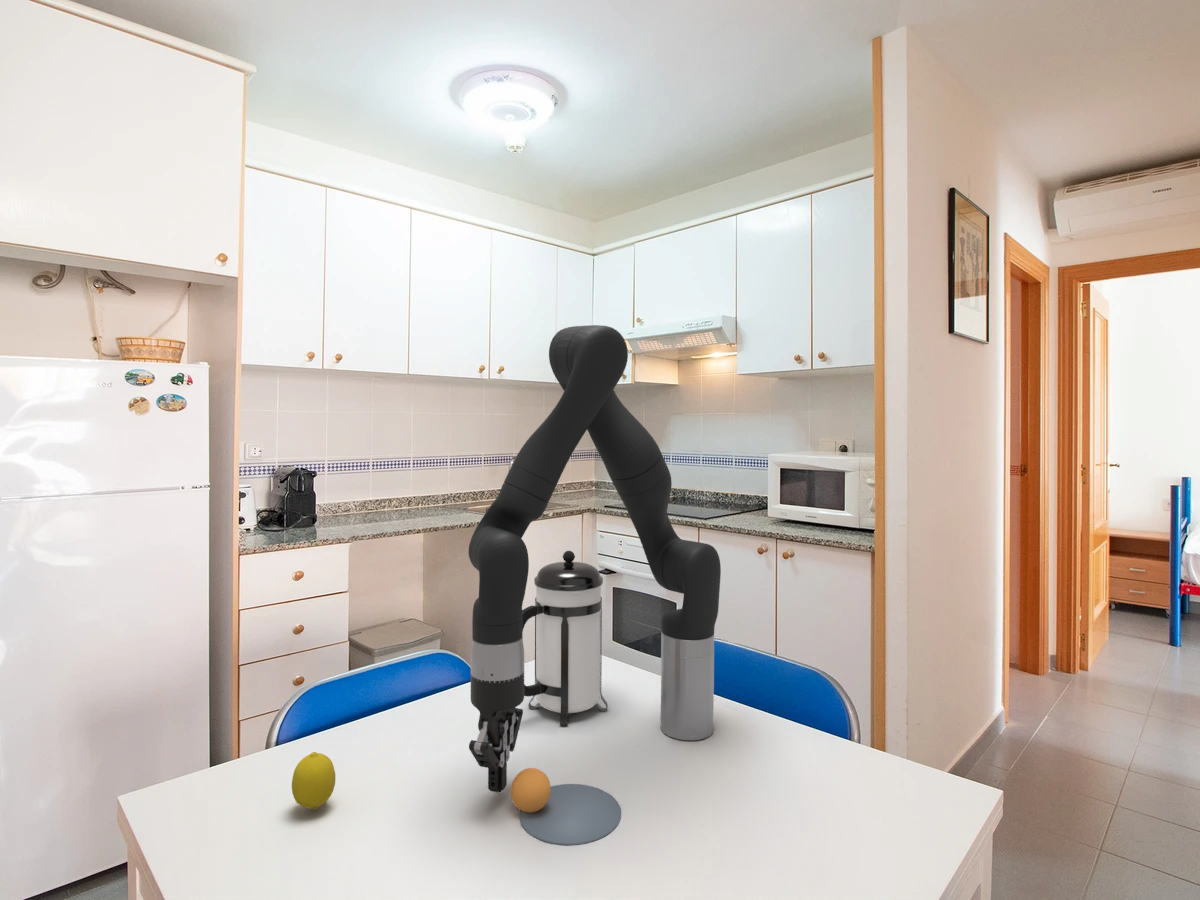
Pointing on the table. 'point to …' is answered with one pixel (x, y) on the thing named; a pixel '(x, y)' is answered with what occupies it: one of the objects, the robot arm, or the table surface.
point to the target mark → (573, 815)
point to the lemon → (313, 780)
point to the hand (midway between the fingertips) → (497, 788)
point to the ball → (530, 790)
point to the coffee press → (567, 638)
